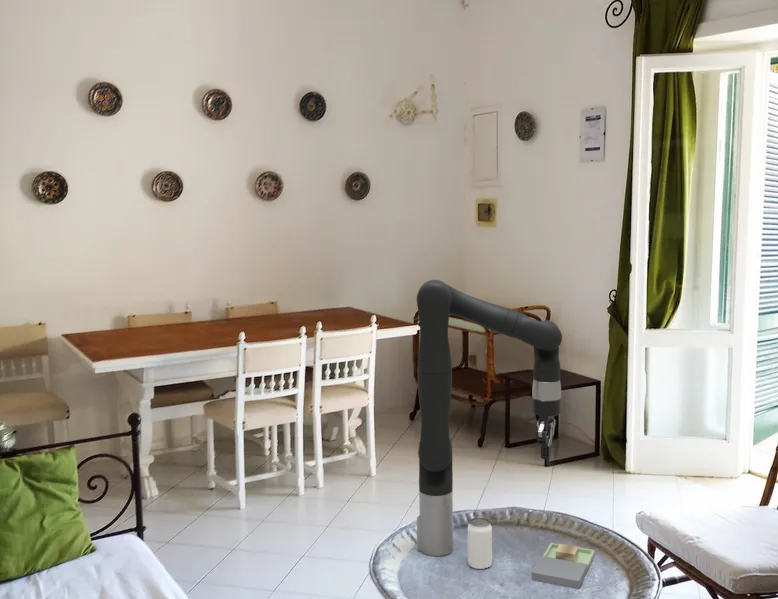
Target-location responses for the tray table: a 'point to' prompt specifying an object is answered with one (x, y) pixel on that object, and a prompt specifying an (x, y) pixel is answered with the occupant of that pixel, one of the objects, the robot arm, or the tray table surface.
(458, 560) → the tray table surface
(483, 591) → the tray table surface
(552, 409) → the robot arm
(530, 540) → the tray table surface
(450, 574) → the tray table surface
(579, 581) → the plate
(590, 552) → the box
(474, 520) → the can
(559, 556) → the tan square block
